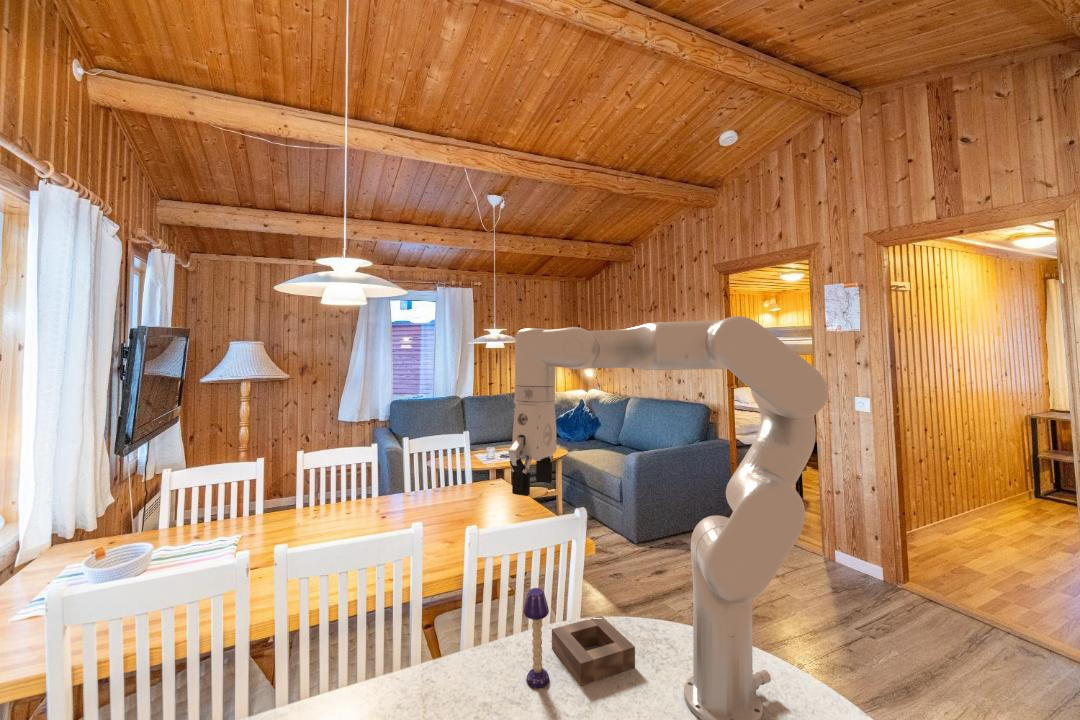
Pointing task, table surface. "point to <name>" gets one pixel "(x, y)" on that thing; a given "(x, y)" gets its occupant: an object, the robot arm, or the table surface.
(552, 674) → the table surface
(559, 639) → the socket block
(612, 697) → the table surface
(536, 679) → the toy lamp
